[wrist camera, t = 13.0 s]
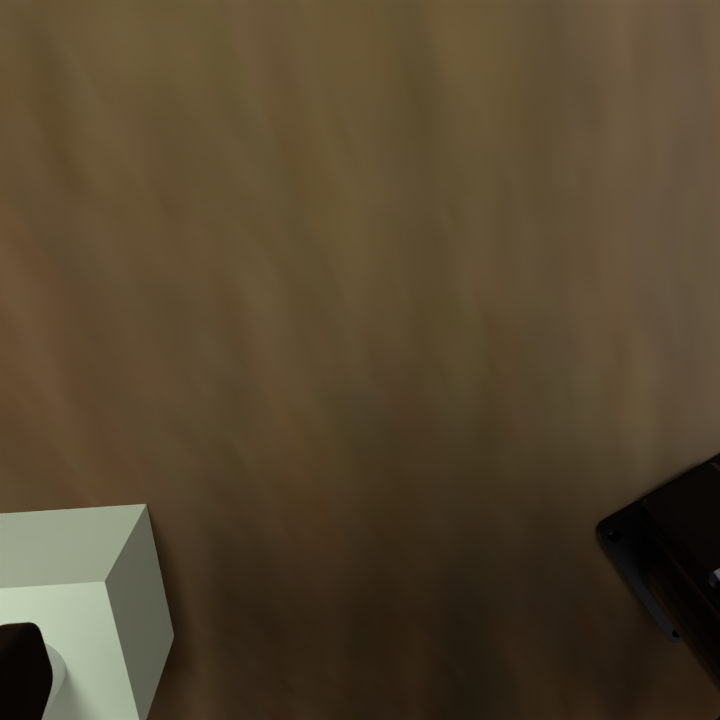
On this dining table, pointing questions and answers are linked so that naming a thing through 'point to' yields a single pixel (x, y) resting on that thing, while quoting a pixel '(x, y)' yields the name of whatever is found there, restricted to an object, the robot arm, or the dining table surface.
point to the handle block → (89, 605)
